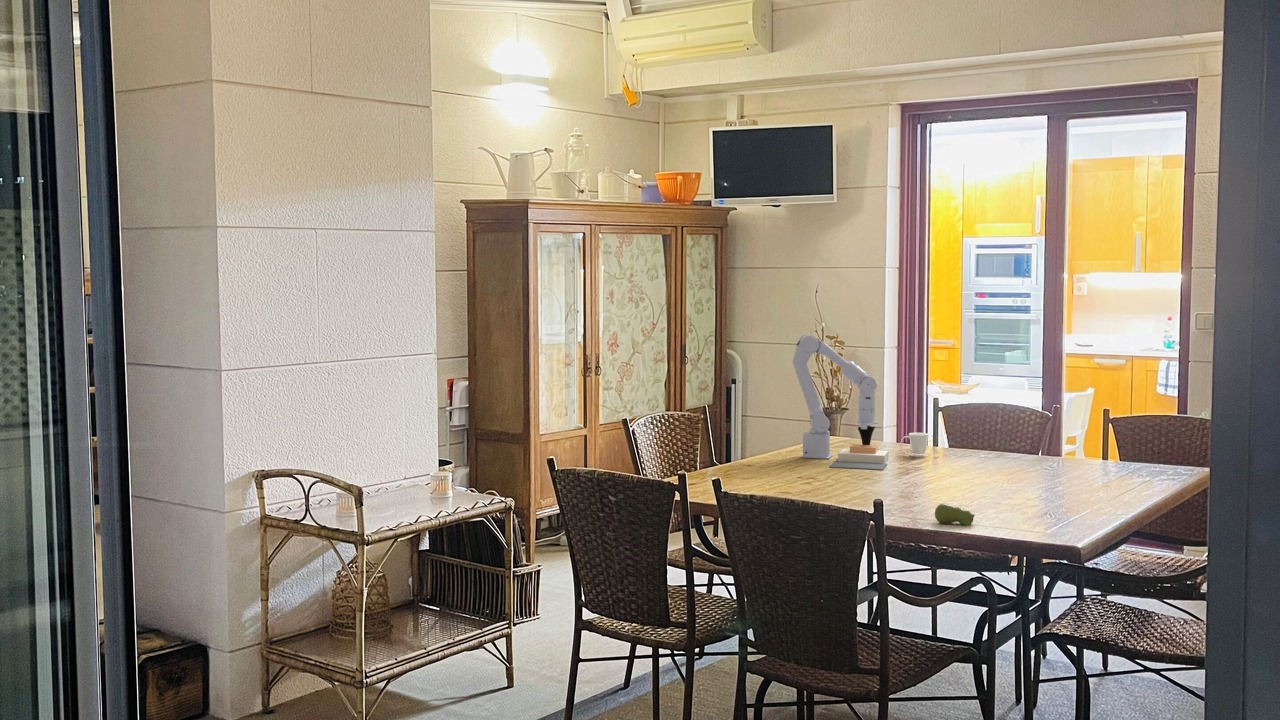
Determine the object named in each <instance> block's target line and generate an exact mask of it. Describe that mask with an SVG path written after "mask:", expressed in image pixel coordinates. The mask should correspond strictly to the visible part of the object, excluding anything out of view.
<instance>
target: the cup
mask: <svg viewBox="0 0 1280 720" xmlns="http://www.w3.org/2000/svg"><path fill="white" fill-rule="evenodd" d="M929 436H930V434H929V433H927V432H910V433H908V435H905V436H903V437H902V438H901V440H900V444H899V445H900V449H901V450H902V452H904V453H905V454H906V455H908V456H910V457H917V458H921V457H922V458H923V457H925V456H926V455H925V454H926V450H927V447H928V441H929ZM904 439H909V444H910V449H911V454H910V453H909V452H908V451H907V452H906V451H905V450H904V449H903V448H902V443H903V440H904Z"/></svg>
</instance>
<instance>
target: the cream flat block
mask: <svg viewBox="0 0 1280 720" xmlns="http://www.w3.org/2000/svg"><path fill="white" fill-rule="evenodd" d="M888 460H889V450H880V449H879V450H878V451H877V453H876V454H873V453H851V452H850V448H842V449H841V450H840V451H839V452H837V461H844V462H865V463H885V464H887V462H888Z"/></svg>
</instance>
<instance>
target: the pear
mask: <svg viewBox="0 0 1280 720" xmlns="http://www.w3.org/2000/svg"><path fill="white" fill-rule="evenodd" d="M975 516H976V515H975V514H974V513H971V511H969V509H963V508H960V507H959V506H956V505H954V504H951V503H940V504H939V505H937V506H936V508H935V509H934V517H935V520H936V521H937V522H938V523H940V524H942V523H946V524H947V525H948V524H952V523H956V522H957V523H960V524H961V525H963V526H966V525H970V526H971V525H972V524H973V522H974V518H975ZM946 524H945V525H946Z"/></svg>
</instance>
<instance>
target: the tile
mask: <svg viewBox="0 0 1280 720" xmlns="http://www.w3.org/2000/svg"><path fill="white" fill-rule="evenodd" d="M849 449H850V452H851V453H873V454H876V453H877V451H878V449H879V446H878V445H876V444H875V445H874V444H873V445H872V444H870V445H862V444H851V445H850V446H849Z"/></svg>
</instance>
